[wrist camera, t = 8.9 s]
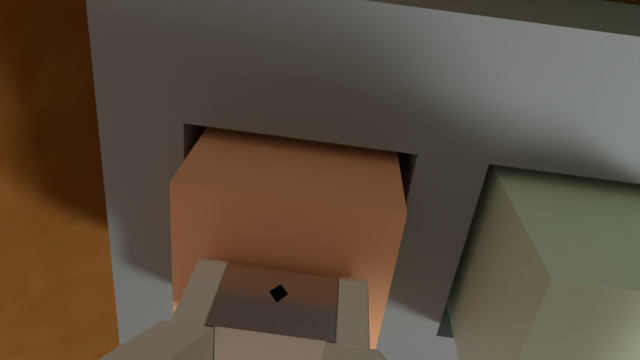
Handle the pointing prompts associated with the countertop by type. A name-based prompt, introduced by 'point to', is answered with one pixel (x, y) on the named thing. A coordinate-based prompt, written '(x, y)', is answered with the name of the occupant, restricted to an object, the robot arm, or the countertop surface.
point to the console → (360, 116)
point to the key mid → (549, 269)
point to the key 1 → (289, 210)
